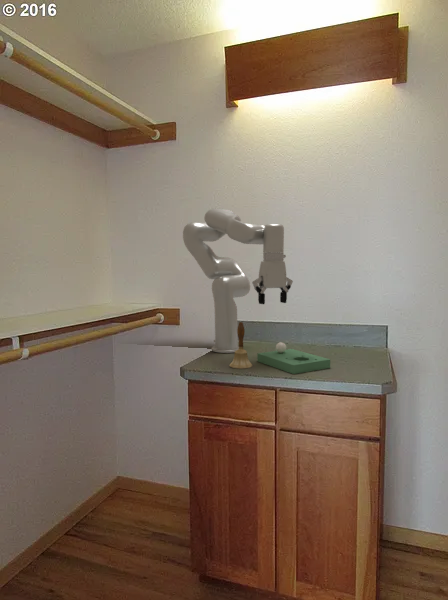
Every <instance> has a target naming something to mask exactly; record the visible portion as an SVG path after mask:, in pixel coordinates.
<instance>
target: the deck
mask: <svg viewBox="0 0 448 600" xmlns="http://www.w3.org/2000/svg"><path fill="white" fill-rule="evenodd" d="M256 355H257V356H256V357H257V358H256V359H257V360H256V362H259V363H260V364H265V365H267V366H270V367H271V368H275V369H278V370H280V371H284V372H287V373H289V374H292V375H296V374H302V373H308V372H314V371H319V370H325V369H326V370H328V369H330V368H331V359H330V358H326V357H323V356H319V355H316V354H312V353H308V352H304V351H301V350H297V349H293V348H288V349H287V348H286V351H285V352H283V353H279V352H277V350H273V351H272V350H271V351H265V352H258V353H257V354H256Z"/></svg>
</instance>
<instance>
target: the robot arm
mask: <svg viewBox="0 0 448 600" xmlns="http://www.w3.org/2000/svg"><path fill="white" fill-rule="evenodd" d="M225 235H227V236H228V238H230V239H231V240H233V241H236V242H238V243H241V244H246V245H263V246H262V247H263V249H262V254H263V255H262V261H260V264H259V265H260V266H259V271H258V278H256V279H255V280H253V281H252V285H253V287H254V290H255V291H256V292H257V294H258V295H257V296H258V297H257V298H258V299H257V300H258V304H259V305H265V303H266V294H265V293H264V292H266V289H280V292H279V293H280V294H279V295H280V296H279V297H280V300H279V302H280V303H281V304H282V303H283V304H286V303H287V299H288V298H287V297H288V293H289V290H290V289H291V287H292V284H293V282H294V281H293V280H292V279H290V278H289V277H287V267H286V263H285V261H284V259H286V257H287V256H286V254H285V253H284V250H285V246H284V244H285V243H284V242H285V241H284V240H285V239H284V238H285V228H284V225H282V224H280V223H267V224H258V223H257V224H256V223H247V222H246V223H245V222H242V220H241V217H240V216H238V215H237V214H236V213H235V211H234V212H233V210H231V209H223V208H216V207H215V208H211V209H208V210H207V211H206V212H205V214H204V221H192V222H189V223H186V224H185V226H184V228H183V230H182V239H183V243H184V246H185V248H186V249H187V251H188V252H189V254H190V255H192V257H193V258H194V260H195V261H196V263H197V264H198V266H199V267H200V269H201V271H202V272H203V274H204V275H205V276H206V277H207V278H208V279H209V280H213V281H212V283H211V292H212V297H213V304H214V340H213V343H214V346H212V347H211V351H212V352H213V353H222V354H223V353H224V354H231V353H233V354H234V353H235V351H236V350H238V349H239V338H238V334H237V329H238V308H237V307H238V306H237V304H236V302H235V300H234V298H242V297H245V296H247V295H248V294H249V292H250V291H251V285H250V284H251V283H250V281H249V278H248V277H247V275H246V274H245V273H244V271H243V270H242V268H241V267H240V266H239V263H237V261H236V260H234V259H233V258H230V257H226V256H224V257H222V256H221V257H220V256H218V255H217V254H216V253H215V252H214V250H213V249H212V248H211V247H210V245H208V244H207V243H206V242H216V241H218V240H220V239H221V238H223V237H224V236H225Z"/></svg>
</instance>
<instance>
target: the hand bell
mask: <svg viewBox="0 0 448 600" xmlns="http://www.w3.org/2000/svg"><path fill="white" fill-rule="evenodd" d="M237 337H238V346H239V349H238V350H236V351H235V352H234V356H233V359H232V362H230V364H229V365H228V366H229V367H230V368H232V369H237V370H238V369H239V370H242V369H244V370H245V369H250V368H252V367H253V364H252V363H251V362H250V360H249V356H248V351H247V350H245V348H244V337H245V325H244V323H243V322H242V321H239V322H238V324H237Z"/></svg>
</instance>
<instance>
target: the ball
mask: <svg viewBox="0 0 448 600" xmlns="http://www.w3.org/2000/svg"><path fill="white" fill-rule="evenodd" d="M286 349H287V345H286V344H285V342H282V341H280V342H278V343H277V344H275V351H277V352H279V353H283V352H285V351H286Z"/></svg>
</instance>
